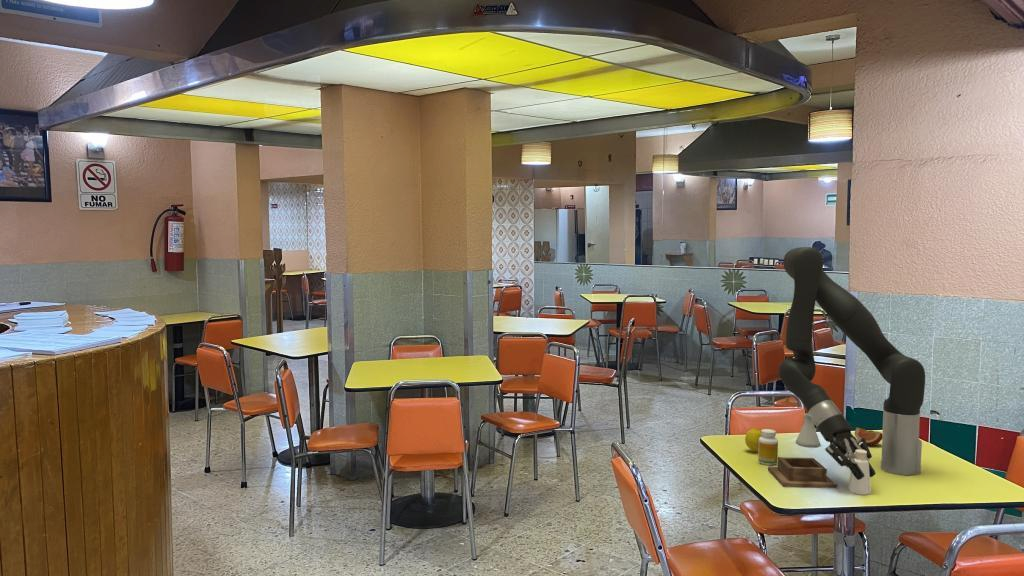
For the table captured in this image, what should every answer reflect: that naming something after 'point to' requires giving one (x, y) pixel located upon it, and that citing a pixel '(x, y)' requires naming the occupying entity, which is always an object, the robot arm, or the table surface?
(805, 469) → the socket cup
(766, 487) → the table surface
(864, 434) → the fruit slice
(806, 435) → the flask
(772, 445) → the supplement bottle
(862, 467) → the pepper shaker
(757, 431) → the fruit
